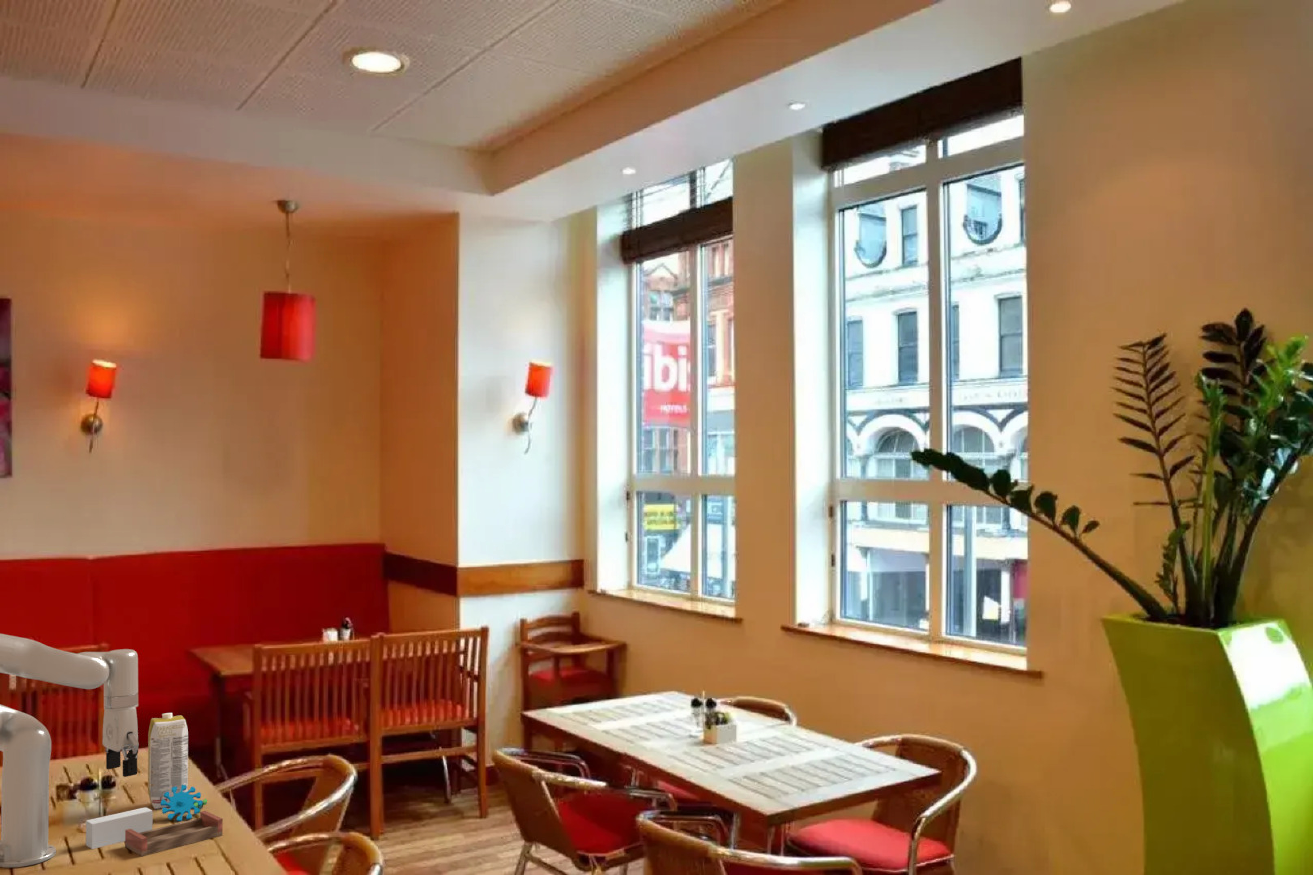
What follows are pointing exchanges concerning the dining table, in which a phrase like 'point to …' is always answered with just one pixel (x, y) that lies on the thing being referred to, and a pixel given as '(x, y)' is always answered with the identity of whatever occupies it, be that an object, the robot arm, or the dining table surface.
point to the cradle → (174, 834)
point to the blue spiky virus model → (182, 803)
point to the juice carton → (167, 757)
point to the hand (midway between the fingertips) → (121, 771)
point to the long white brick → (116, 827)
